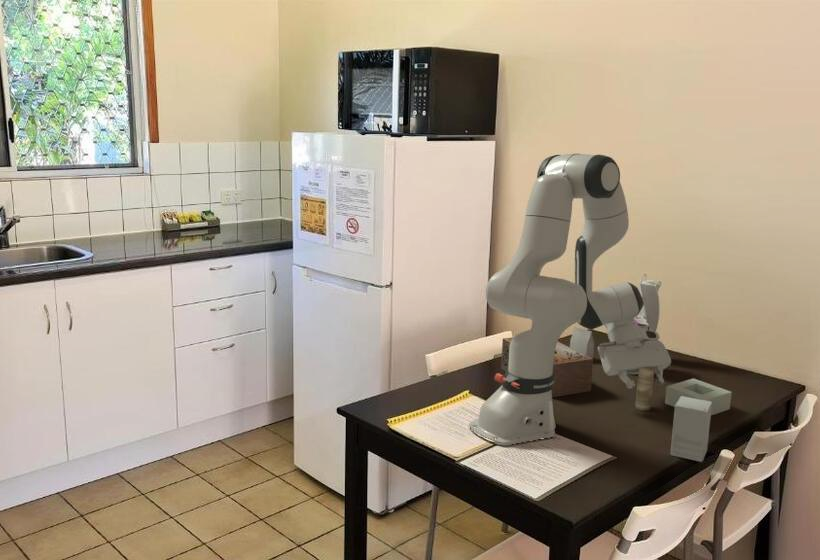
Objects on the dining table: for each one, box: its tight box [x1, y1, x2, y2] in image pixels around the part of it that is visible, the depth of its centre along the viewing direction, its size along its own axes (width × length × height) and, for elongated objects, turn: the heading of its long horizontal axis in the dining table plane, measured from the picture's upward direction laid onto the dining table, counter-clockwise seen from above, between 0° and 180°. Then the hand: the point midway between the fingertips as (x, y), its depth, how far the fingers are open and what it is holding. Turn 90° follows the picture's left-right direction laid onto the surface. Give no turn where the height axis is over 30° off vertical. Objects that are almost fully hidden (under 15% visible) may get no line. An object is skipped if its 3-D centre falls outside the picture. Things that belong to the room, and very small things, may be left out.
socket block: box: [664, 378, 733, 416], centre depth 202 cm, size 12×12×5 cm
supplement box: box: [670, 396, 712, 463], centre depth 173 cm, size 7×7×13 cm
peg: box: [634, 367, 655, 412], centre depth 199 cm, size 4×4×11 cm
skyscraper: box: [638, 273, 662, 332], centre depth 239 cm, size 8×8×28 cm
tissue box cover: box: [500, 336, 594, 398], centre depth 219 cm, size 26×14×10 cm, turn 24°
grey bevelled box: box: [569, 326, 595, 359], centre depth 239 cm, size 4×7×10 cm, turn 38°
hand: (646, 385), depth 198 cm, fingers open, 8 cm apart
